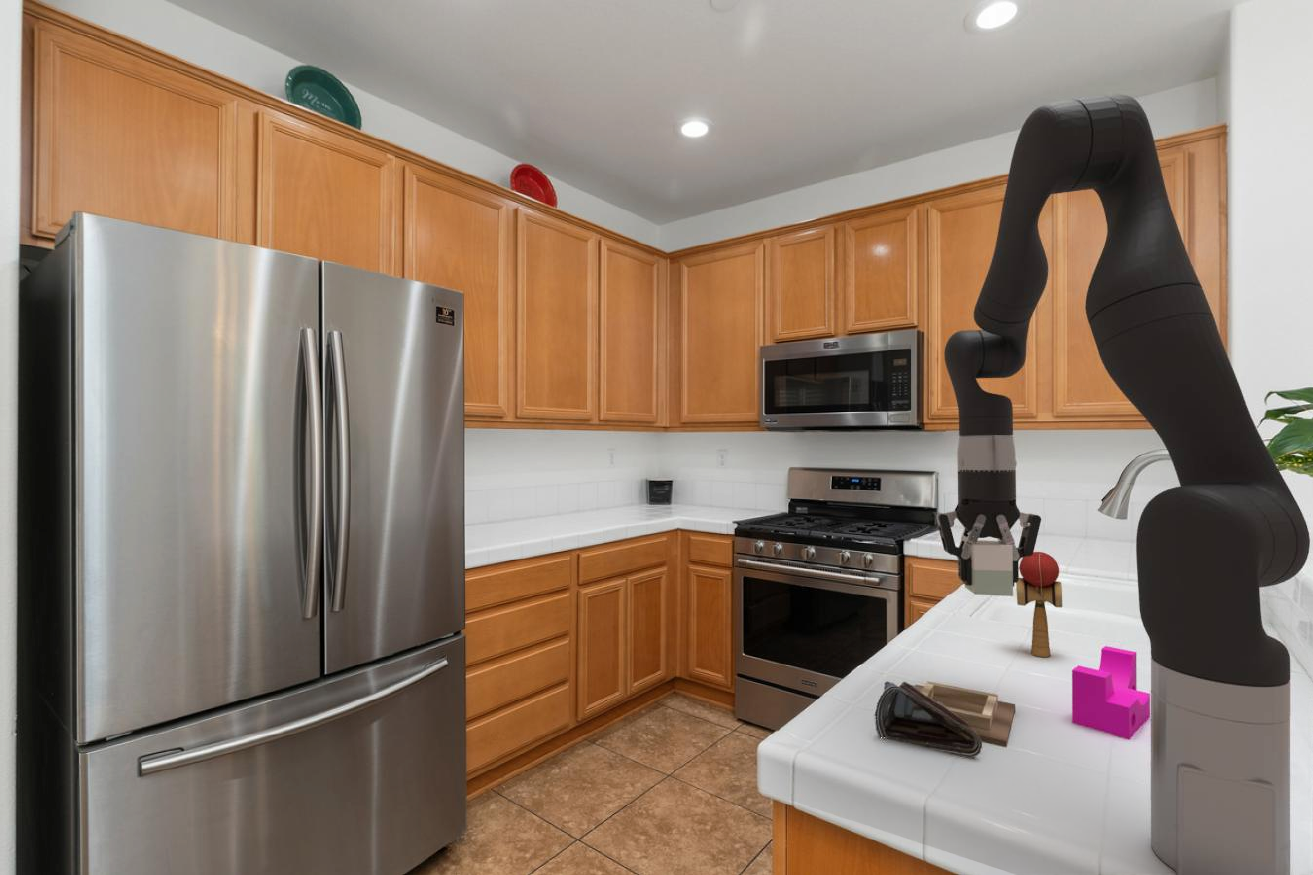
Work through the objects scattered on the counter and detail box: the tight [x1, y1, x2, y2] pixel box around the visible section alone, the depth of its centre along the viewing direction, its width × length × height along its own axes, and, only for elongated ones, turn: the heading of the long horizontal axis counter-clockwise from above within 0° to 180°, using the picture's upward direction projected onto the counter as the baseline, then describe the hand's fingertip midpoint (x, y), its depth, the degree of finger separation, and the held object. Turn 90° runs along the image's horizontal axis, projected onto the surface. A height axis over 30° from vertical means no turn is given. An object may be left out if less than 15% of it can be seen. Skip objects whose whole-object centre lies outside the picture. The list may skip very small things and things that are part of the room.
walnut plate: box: [914, 681, 1016, 748], centre depth 87 cm, size 13×13×3 cm
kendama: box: [1015, 551, 1063, 658], centre depth 113 cm, size 8×6×18 cm
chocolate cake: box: [874, 681, 983, 758], centre depth 81 cm, size 10×7×12 cm
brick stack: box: [964, 539, 1014, 597], centre depth 94 cm, size 5×5×7 cm
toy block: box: [1071, 645, 1151, 740], centre depth 88 cm, size 15×6×8 cm, turn 131°
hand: (987, 584), depth 94 cm, fingers closed on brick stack, 5 cm apart
